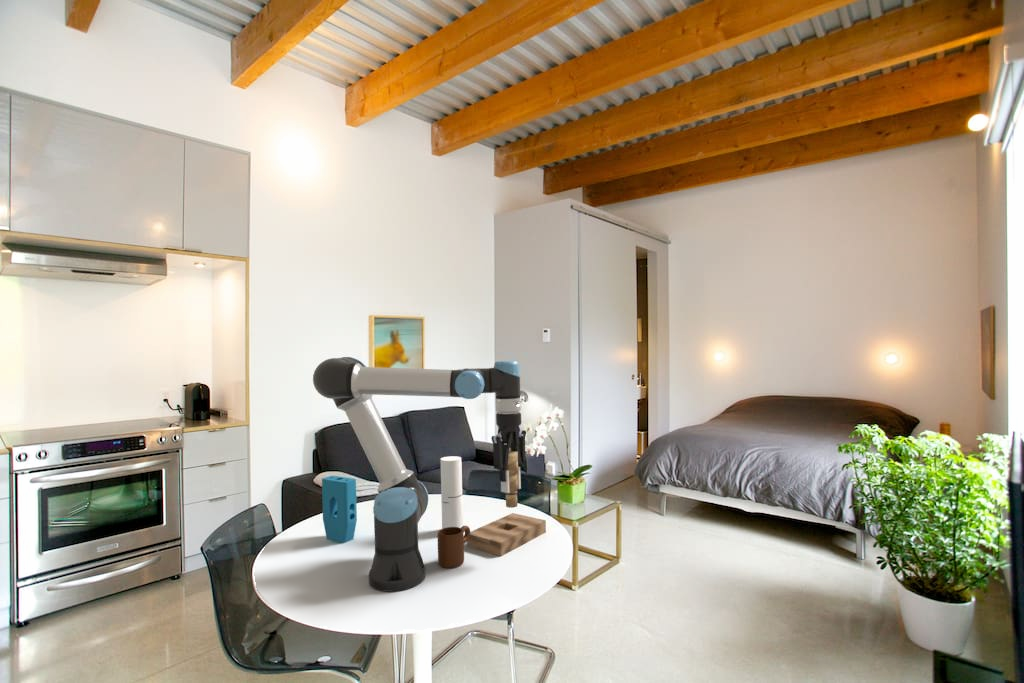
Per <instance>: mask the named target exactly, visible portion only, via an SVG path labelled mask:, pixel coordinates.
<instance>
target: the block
mask: <svg viewBox="0 0 1024 683" xmlns="http://www.w3.org/2000/svg"><path fill="white" fill-rule="evenodd" d="M321 489H322V490H321V493H322V494H321V495H322V497H321V498H322V502H321V503H322V520H323V521H322V522H323V526H324V532H325V536H326V540H328V541H331V542H334V543H339V544H346V543H347V542H350V541H352V540H354V538H355V533H356V526H357V520H358V515H357V514H358V512H357V479H356V478H352V477H346V476H338V475H329V476H326V477H322V478H321Z"/></svg>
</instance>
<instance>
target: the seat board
mask: <svg viewBox="0 0 1024 683" xmlns="http://www.w3.org/2000/svg"><path fill="white" fill-rule="evenodd" d="M546 524H547V522H546V520H545V519H540V518H536V517H532V516H527V515H522V514H519V513H514V512H512V513H509V514H507V515H506V516H503V517H501V518H500V517H499V519H496V520H494V521H492V522H490V523H486V524H485V525H482V526H480V527H478V528H476V529H474V530H470V537H469V539H468V541H467V542H466V546H467V547H468V548H471V549H476V550H478V551H482V552H486V553H489V554H493V555H496V556H500V557H503V556H504V555H506V554H508V553H510V552H512V551H514V550H516V549H517V548H519V547H521V546H523V545H525V544H527V543H528V542H530V541H532V540H534V539H536V538H538V537H540V536H541V535H543V534H546V532H547V526H546Z"/></svg>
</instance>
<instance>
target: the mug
mask: <svg viewBox="0 0 1024 683" xmlns="http://www.w3.org/2000/svg"><path fill="white" fill-rule="evenodd" d="M470 532H471V529H470V527H469V526H468V525H463V526H462V527H461V528H458V527H447V528H443V529H442V528H440V529H439V530H438V531H437V560H438V561H437V563H438V564H439V566H440V567H441V568H446V569H454V568H458V567H460V566H462V565H463V564H464V561H465V543H466V544H467V541H468V539H469V537H470Z"/></svg>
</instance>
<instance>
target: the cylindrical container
mask: <svg viewBox="0 0 1024 683" xmlns="http://www.w3.org/2000/svg"><path fill="white" fill-rule="evenodd" d="M462 463H463V462H462V457H461V456H456V455H454V456H453V455H452V456H451V455H450V456H443V457H440V486H441V487H440V488H441V489H440V493H441V496H440V497H441V499H440V500H441V529H443V528H447V527H458V528H461V527H462V526H464V515H463V514H464V512H463V510H464V508H463V507H464V505H463V473H462V472H463V471H462V470H463V469H462Z"/></svg>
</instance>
